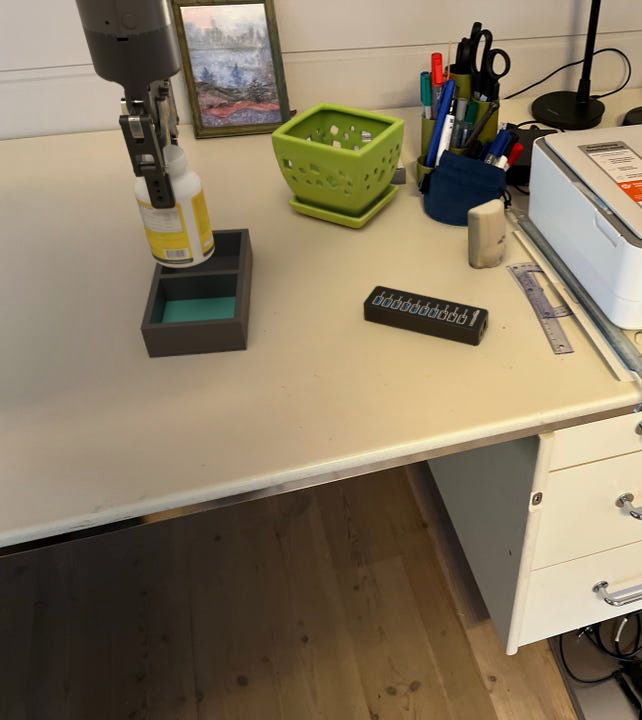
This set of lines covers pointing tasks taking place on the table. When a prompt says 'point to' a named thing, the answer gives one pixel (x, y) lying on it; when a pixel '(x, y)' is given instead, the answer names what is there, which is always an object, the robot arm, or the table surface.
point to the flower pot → (339, 162)
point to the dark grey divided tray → (202, 301)
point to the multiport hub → (426, 315)
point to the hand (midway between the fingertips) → (169, 189)
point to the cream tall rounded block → (486, 234)
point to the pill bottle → (177, 217)
